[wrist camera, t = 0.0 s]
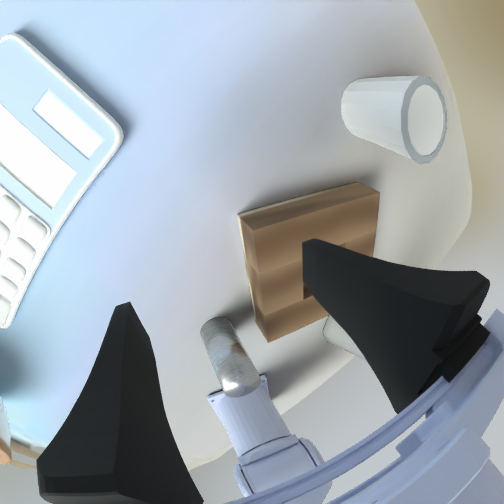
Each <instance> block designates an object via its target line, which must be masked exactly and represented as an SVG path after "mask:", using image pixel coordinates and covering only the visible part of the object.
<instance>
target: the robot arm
mask: <svg viewBox="0 0 504 504" xmlns="http://www.w3.org/2000/svg"><path fill="white" fill-rule="evenodd" d="M302 263H303V282H304V283H305V285H306V286H307V288H308V289H309V291H310V292H311V294H312V295H313V296H314V298H315V299H316V300H317V301H318V302H319V304H320V305H321V306H322V307H323V308H324V309H325V310H326V311H327V312H328V313H329V314H330V315H331V317H332V318H333V319H334V320H335V321H336V322H337V323H338V324H339V325H340V326H341V327H342V328H343V330H344V331H345V332H346V333H347V334H348V335H349V336H350V338H351V339H352V340H353V342H354V343H355V344H356V346H357V347H358V349H359V350H360V351H361V353H362V354H363V356H364V357H365V359H366V360H367V362H368V363H369V365H370V366H371V368H372V369H373V371H374V373H375V374H376V376H377V378H378V379H379V381H380V383H381V385H382V386H383V388H384V390H385V392H386V394H387V396H388V398H389V400H390V401H391V404H392V406H393V408H394V410H395V412H396V413H397V414H398V415H396V416H395V417H394V418H393V419H391V420H390V421H389V422H387V423H386V424H385V425H383V426H382V427H380V428H379V429H378V430H376V431H375V432H373V433H372V434H370V435H369V436H367V437H366V438H364V439H363V440H361V441H360V442H359V443H357V444H355V445H354V446H352V447H350V448H349V449H347V450H346V451H344V452H342V453H340V454H339V455H337V456H335V457H334V458H332V459H330V460H328V461H326V462H324V460H323V458H322V457H321V455H320V453H319V452H318V450H317V449H316V447H315V446H314V445H313V443H312V442H311V441H309V440H308V439H304V438H299V439H297V437H296V435H295V434H294V435H292V434H291V433H290V431H289V429H288V428H287V426H286V424H285V423H284V421H283V419H282V418H281V416H280V414H279V412H278V411H277V409H276V407H275V405H274V404H273V402H272V400H271V399H270V395H269V390H268V384H267V378H266V376H265V375H261V376H260V378H261V384H260V385H259V387H258V388H257V389H256V390H254V391H253V392H251V393H249V394H247V395H245V396H242V397H237V398H231V397H227V396H226V395H225V393H224V391H221V392H218V393H215V394H213V395H210V396H208V401H209V402H210V404H211V406H212V407H213V409H214V410H215V412H216V414H217V415H218V417H219V418H220V420H221V421H222V423H223V424H224V427H225V429H226V431H227V433H228V436H229V438H230V440H231V442H232V445H233V447H234V449H235V451H236V453H237V455H238V457H239V458H237V459H238V461H239V463H240V464H237V465H235V468H234V470H233V473H234V477H235V479H236V481H237V484H238V485H239V488H240V490H241V491H242V493H243V495H244V496H245V497H244V498H241V499H238V500H235V501H231V502H228V503H225V504H322V502H323V500H324V499H325V497H326V495H327V493H328V492H329V490H330V488H331V486H332V480H333V479H335V478H337V477H339V476H340V475H342V474H344V473H345V472H347V471H349V470H350V469H352V468H354V467H355V466H357V465H358V464H360V463H362V462H363V461H365V460H366V459H368V458H369V457H371V456H372V455H374V454H375V453H376V452H378V451H379V450H380V449H382V448H383V447H385V446H386V445H387V444H389V443H390V442H392V441H393V440H394V439H395V438H397V437H398V436H399V435H401V434H402V433H403V432H404V431H405V430H407V429H408V428H409V427H410V426H412V425H413V424H414V423H415V422H416V421H417V420H419V419H420V418H421V417H422V416H423V415H424V414H425V413H426V412H427V413H426V420H425V421H424V422H423V423H422V424H421V425H420V426H418V427H417V428H416V429H415V430H414V431H413V432H412V433H411V434H410V435H409V436H408V437H406V438H405V439H404V440H403V441H402V442H401V443H399V444H398V445H397V446H396V450H397V451H398V452H399V453H400V455H401V456H400V457H399V458H398V459H396V460H395V461H394V462H392V463H391V464H390V465H388V466H387V467H386V468H384V469H383V470H381V471H380V472H378V473H377V474H376V475H374V476H373V477H371V478H370V479H368V480H366V481H365V482H363V483H362V484H360V485H358V486H357V487H355V488H354V489H352V490H350V491H348V492H347V493H345V494H343V495H342V496H340V497H338V498H336V499H334V500H332V501H331V502H329V503H327V504H504V476H503V475H502V474H501V473H500V471H499V470H498V469H497V468H496V467H495V465H494V464H493V463H492V462H491V461H490V459H489V456H490V448H489V447H488V445H487V444H486V443H485V442H484V441H483V440H482V439H481V437H482V435H483V433H484V432H485V430H486V429H487V427H488V425H489V424H490V422H491V420H492V418H493V416H494V415H495V413H496V411H497V409H498V408H499V405H500V404H501V402H502V400H503V398H504V314H503V313H501V312H500V311H499V310H498V309H496V310H495V311H494V313H493V314H492V315H491V317H490V318H489V319H488V321H487V322H486V324H485V325H484V326H483V325H481V324H480V322H481V320H482V318H481V317H480V316H479V315H478V314H477V313H478V311H479V309H480V307H481V305H482V303H483V301H484V299H485V297H486V295H487V292H488V290H489V287H490V281H489V280H488V279H487V278H486V277H484V276H483V275H481V274H480V273H478V272H477V271H440V270H429V269H422V268H415V267H410V266H405V265H400V264H396V263H391V262H387V261H384V260H380V259H377V258H374V257H370V256H367V255H364V254H361V253H358V252H355V251H352V250H349V249H346V248H344V247H341V246H338V245H335V244H332V243H329V242H326V241H323V240H320V239H316V238H313V239H310V240H307V241H305V242H302ZM37 474H38V485H39V492H40V496H41V497H42V498H43V499H44V500H46V501H48V502H50V503H53V504H203V502H204V500H203V498H202V497H201V495H200V493H199V491H198V489H197V488H196V486H195V484H194V482H193V480H192V478H191V476H190V474H189V472H188V470H187V468H186V466H185V463H184V461H183V459H182V457H181V455H180V452H179V450H178V447H177V445H176V442H175V440H174V437H173V434H172V432H171V429H170V426H169V423H168V420H167V417H166V413H165V410H164V405H163V400H162V395H161V390H160V384H159V379H158V373H157V367H156V361H155V356H154V353H153V349H152V345H151V342H150V338H149V336H148V334H147V332H146V330H145V329H144V327H143V325H142V323H141V321H140V320H139V318H138V316H137V314H136V312H135V310H134V308H133V306H132V305H131V303H130V302H127V303H124V304H121V305H118V306H116V307H115V309H114V312H113V315H112V317H111V320H110V323H109V326H108V329H107V331H106V334H105V337H104V340H103V342H102V345H101V348H100V351H99V353H98V356H97V358H96V361H95V363H94V366H93V368H92V371H91V373H90V375H89V378H88V380H87V382H86V384H85V386H84V388H83V390H82V392H81V394H80V396H79V398H78V399H77V401H76V403H75V405H74V407H73V408H72V410H71V412H70V414H69V416H68V417H67V419H66V420H65V422H64V424H63V425H62V427H61V428H60V430H59V431H58V433H57V434H56V436H55V437H54V438H53V440H52V441H51V443H50V444H49V445H48V446H47V448H46V449H45V450H44V452H43V453H42V454H41V455H40V457H39V458H38V459H37Z"/></svg>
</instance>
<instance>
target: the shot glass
mask: <svg viewBox="0 0 504 504" xmlns="http://www.w3.org/2000/svg"><path fill="white" fill-rule="evenodd" d="M341 114H342V118H343V120H344V123H345V126H346V127H347V128H348V130H349V131H350V132H351V133H352V134H353V135H355V136H357V137H360V138H362V139H365V140H367V141H370V142H372V143H375V144H377V145H379V146H382V147H384V148H387V149H389V150H391V151H393V152H396V153H398V154H400V155H402V156H404V157H407V158H409V159H411V160H413V161H415V162H417V163H419V164H424V163H429V162H430V161H431V160H432V159H433V158H435V157H436V156H437V154H438V152H439V151H440V149H441V147H442V145H443V142H444V138H445V133H446V129H447V111H446V106H445V101H444V97H443V95H442V93H441V91H440V89H439V86H438V85H437V84H436V83H435V82H434V81H433V80H432V79H431V78H428V77H424V76H393V77H377V78H366V79H357V80H355V81H353V82H351V83H350V84H349V85H348V86H347V88H346V89H345V91H344V92H343V96H342V100H341Z"/></svg>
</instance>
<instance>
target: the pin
mask: <svg viewBox="0 0 504 504" xmlns="http://www.w3.org/2000/svg"><path fill="white" fill-rule="evenodd" d="M200 334H201V337H202V340H203V342H204V345H205V348H206V350H207V353H208V355H209V358H210V360H211V363H212V365H213V368H214V370H215V372H216V375H217V377H218V380H219V382H220V384H221V387H222V389H223V391H224V393H225V395H226V396H227V397H231V398H237V397H242V396H245V395H247V394H249V393H251V392H253V391H254V390H256V389H257V388H258V387H259V385H260V384H261V378H260V376H259V374H258V372H257V370H256V369H255V367H254V365H253V363H252V361H251V359H250V358H249V356H248V354H247V352H246V350H245V348H244V346H243V345H242V343H241V341H240V339H239V337H238V335H237V333H236V331H235V329H234V327H233V326H232V324H231V322H230V321H229V320H228V319H226V318H214V319H211V320H209V321H208V322H206V323H205V324H204V325H203V326H202V328H201V331H200Z"/></svg>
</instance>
